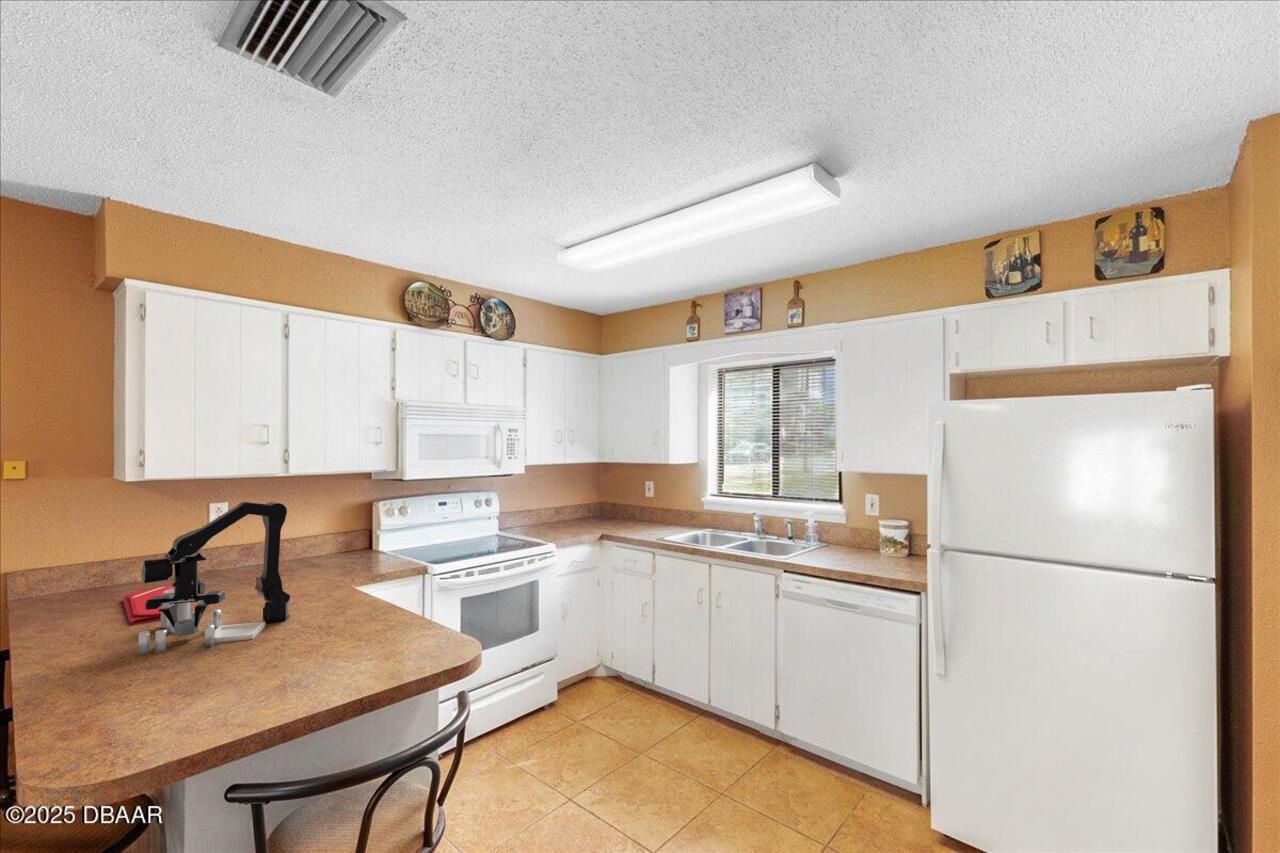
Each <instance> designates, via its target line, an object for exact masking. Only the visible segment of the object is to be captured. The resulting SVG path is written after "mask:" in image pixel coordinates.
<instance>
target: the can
mask: <svg viewBox="0 0 1280 853" xmlns="http://www.w3.org/2000/svg"><path fill="white" fill-rule="evenodd" d="M163 593H164V594H163V595H169V597H170V598H173V596H174V589H170V590H167V591H164V592H163ZM189 600H191V599H189ZM179 601H180V600H179ZM190 613H191V602H189V603H178V606H177V620H178V621H181V620H186V619H190ZM160 627H161V628H162V629H165V630H167V617H166V616H165V615H164V613H163V612H162V611H161V620H160Z"/></svg>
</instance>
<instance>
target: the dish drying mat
mask: <svg viewBox="0 0 1280 853" xmlns="http://www.w3.org/2000/svg"><path fill="white" fill-rule="evenodd" d="M170 589H174V586H173V585H172V586H160V587H153V588H148V589H142V590H141V589H140V590H137V591H134V592H131V593H128V594H126V595H124V596H123V606H124V609H125V612H126V617H127V620H128V621H129V623H130V625H131V626H136V625H140V624H146V623H152V622H157V621H161V611H158V610H159V609H160V607H159V608H158V609H150V610H145V603H146V601H147V600H149V599H150V598H152V597H154V596H160V595H163V594H164V593H163V592H164V591H167V590H170Z"/></svg>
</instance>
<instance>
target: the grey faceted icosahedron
mask: <svg viewBox="0 0 1280 853" xmlns="http://www.w3.org/2000/svg"><path fill="white" fill-rule="evenodd" d="M197 632H199V631H198V627H195V619H186V620H181V621H178V622H177V623H175V624H174V634H173V635H174V636H177V637H178V636H179V637H184V636H188V635H189V636H190V635H193V634H196V633H197Z"/></svg>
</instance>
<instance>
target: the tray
mask: <svg viewBox="0 0 1280 853" xmlns="http://www.w3.org/2000/svg"><path fill="white" fill-rule="evenodd" d="M265 627H266V623H265V622H263V621H259V622H246V623H237V624H228V625H221V626H219V627H218V628H217V629H216V630H215V644H219V643H228V642H237V641H248V640H253V639H254V638H256V637H257V636H258V635H259V633H261V631H263V630H264V628H265ZM203 641H204V642H203V643H204V645H205V638H204V639H203Z"/></svg>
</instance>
